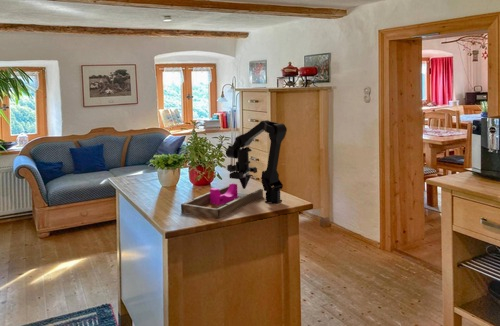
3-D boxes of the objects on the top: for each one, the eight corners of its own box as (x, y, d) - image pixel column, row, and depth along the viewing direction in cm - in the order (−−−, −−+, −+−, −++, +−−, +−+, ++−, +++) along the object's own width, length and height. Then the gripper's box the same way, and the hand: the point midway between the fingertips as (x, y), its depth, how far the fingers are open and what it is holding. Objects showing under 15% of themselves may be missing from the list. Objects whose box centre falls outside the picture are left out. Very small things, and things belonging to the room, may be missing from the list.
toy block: (218, 205, 222) (218, 190, 221) (210, 203, 227) (209, 188, 225) (240, 199, 232) (240, 185, 231) (232, 197, 237) (232, 183, 235)
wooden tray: (262, 196, 235) (262, 188, 234) (217, 218, 201) (217, 209, 200) (229, 192, 246) (229, 184, 245) (181, 212, 212) (180, 203, 211)
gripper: (239, 155, 247) (240, 183, 250) (220, 161, 232) (221, 191, 235) (257, 157, 242) (258, 185, 245) (238, 163, 226) (239, 193, 229)
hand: (244, 188), depth 238 cm, fingers closed
